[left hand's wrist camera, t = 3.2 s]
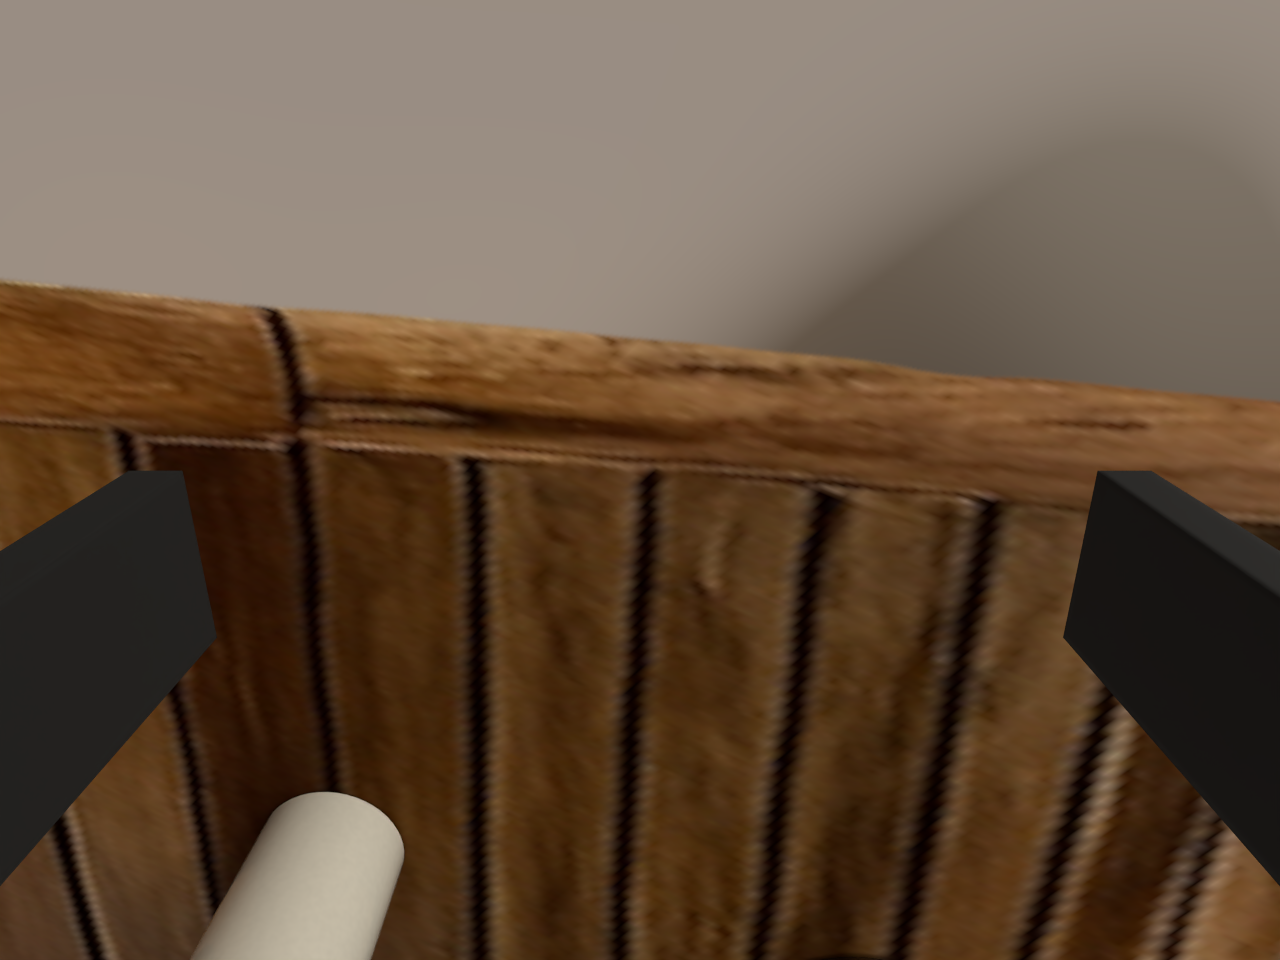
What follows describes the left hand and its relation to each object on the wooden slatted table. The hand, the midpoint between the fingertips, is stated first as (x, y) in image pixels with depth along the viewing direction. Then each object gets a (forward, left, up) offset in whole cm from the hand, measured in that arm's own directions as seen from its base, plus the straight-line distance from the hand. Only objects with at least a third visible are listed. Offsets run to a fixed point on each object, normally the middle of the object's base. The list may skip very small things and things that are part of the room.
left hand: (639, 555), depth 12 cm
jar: (-33, +18, -28) cm, 47 cm away
